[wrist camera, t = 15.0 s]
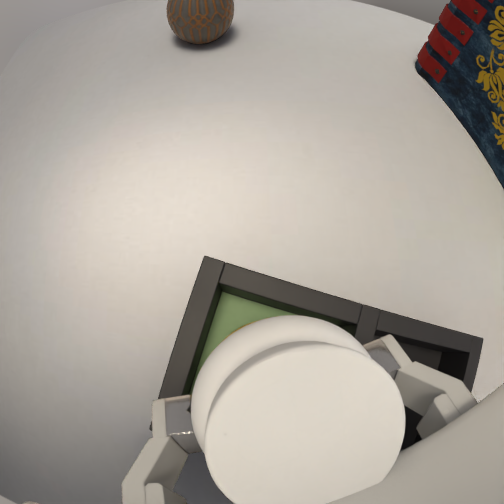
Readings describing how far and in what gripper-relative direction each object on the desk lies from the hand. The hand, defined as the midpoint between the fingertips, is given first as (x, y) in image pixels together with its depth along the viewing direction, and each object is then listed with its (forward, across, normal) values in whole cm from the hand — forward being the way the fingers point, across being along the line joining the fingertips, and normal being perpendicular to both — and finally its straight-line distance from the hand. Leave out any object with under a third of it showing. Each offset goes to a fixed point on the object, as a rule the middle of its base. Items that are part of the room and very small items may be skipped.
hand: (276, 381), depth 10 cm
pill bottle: (+4, 0, +5) cm, 6 cm away
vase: (+29, -2, -16) cm, 33 cm away
